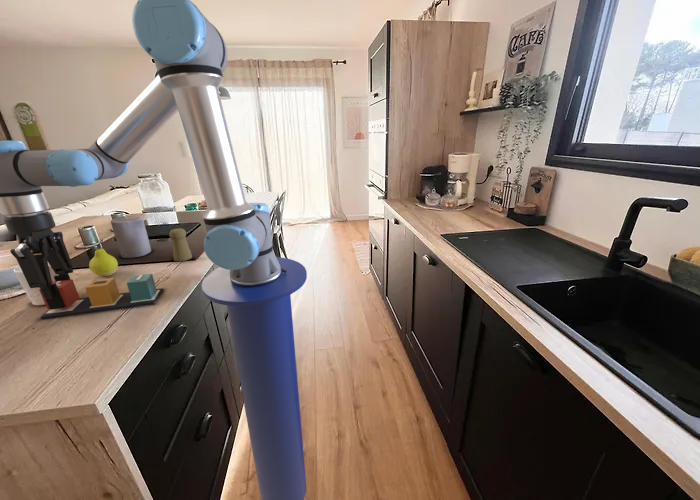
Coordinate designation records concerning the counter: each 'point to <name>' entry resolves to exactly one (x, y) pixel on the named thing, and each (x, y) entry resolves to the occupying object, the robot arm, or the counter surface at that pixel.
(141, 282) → the teal slotted block
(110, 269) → the fruit
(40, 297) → the white cup
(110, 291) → the slotted yellow cube
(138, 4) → the robot arm
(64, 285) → the red block
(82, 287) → the counter surface
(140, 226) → the pillar candle
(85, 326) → the counter surface
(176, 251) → the cork
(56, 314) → the word mat
